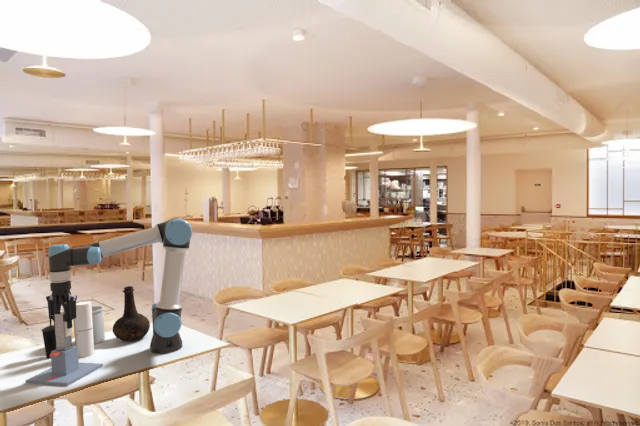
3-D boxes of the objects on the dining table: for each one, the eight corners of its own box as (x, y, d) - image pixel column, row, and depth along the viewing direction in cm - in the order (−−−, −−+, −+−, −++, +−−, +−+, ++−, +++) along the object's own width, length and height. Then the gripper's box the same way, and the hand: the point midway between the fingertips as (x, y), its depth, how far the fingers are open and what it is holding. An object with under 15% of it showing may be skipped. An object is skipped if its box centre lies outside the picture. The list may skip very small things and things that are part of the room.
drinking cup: (65, 354, 208) (63, 313, 207) (49, 360, 201) (47, 317, 200) (55, 352, 211) (52, 312, 210) (39, 358, 204) (36, 316, 203)
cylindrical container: (86, 357, 202) (83, 305, 202) (73, 357, 204) (70, 304, 203) (97, 352, 209) (94, 301, 208) (84, 351, 211) (82, 301, 210)
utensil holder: (72, 348, 216) (70, 314, 215) (75, 340, 230) (73, 307, 229) (104, 343, 222) (102, 310, 221) (106, 335, 236) (104, 304, 235)
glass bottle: (157, 334, 235) (154, 283, 234) (135, 345, 218) (133, 290, 217) (128, 332, 239) (126, 283, 238) (105, 343, 222) (102, 290, 221)
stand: (102, 366, 191) (101, 341, 191) (67, 386, 171) (66, 358, 171) (64, 364, 195) (62, 340, 195) (25, 383, 176) (24, 356, 175)
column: (73, 362, 185) (70, 311, 184) (65, 366, 181) (62, 314, 180) (64, 361, 186) (62, 311, 185) (56, 365, 181) (54, 314, 181)
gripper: (84, 279, 184) (87, 333, 185) (50, 279, 187) (53, 332, 188) (71, 282, 176) (74, 339, 177) (36, 282, 180) (39, 337, 181)
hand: (63, 335), depth 183 cm, fingers closed on column, 4 cm apart
